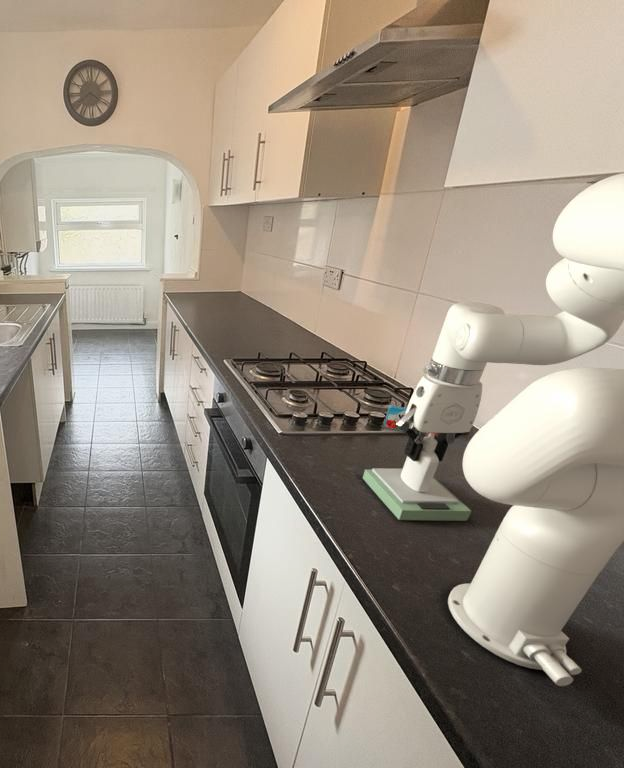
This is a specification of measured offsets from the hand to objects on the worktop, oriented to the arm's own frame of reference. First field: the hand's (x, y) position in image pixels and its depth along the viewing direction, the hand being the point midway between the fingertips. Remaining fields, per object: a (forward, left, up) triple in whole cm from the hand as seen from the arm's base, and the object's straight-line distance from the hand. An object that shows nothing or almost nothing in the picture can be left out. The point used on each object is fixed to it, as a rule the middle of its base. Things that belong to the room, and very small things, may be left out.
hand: (422, 456), depth 82 cm
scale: (-1, 0, -10) cm, 10 cm away
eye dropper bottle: (0, 0, -7) cm, 7 cm away
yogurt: (+26, -17, -10) cm, 33 cm away
